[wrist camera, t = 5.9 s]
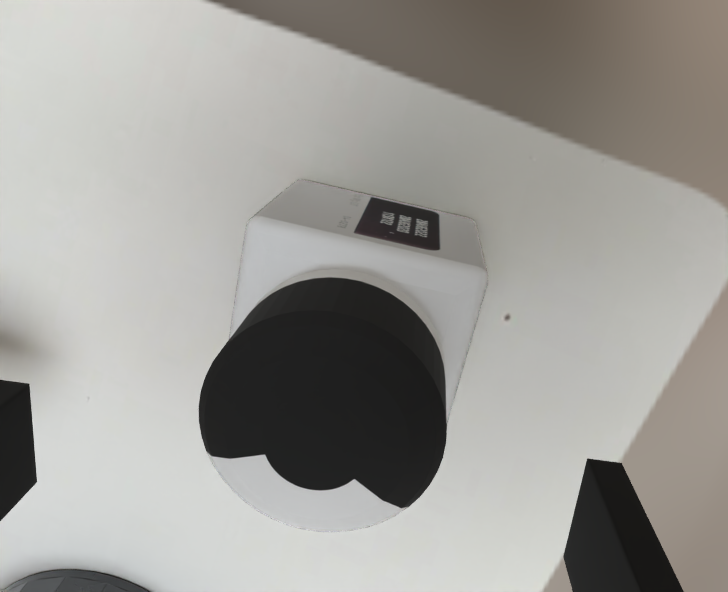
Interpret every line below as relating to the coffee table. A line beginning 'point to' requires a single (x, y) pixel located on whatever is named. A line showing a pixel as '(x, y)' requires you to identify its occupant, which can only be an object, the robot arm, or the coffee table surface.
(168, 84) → the coffee table surface
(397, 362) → the container
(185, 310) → the coffee table surface
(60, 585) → the pan
